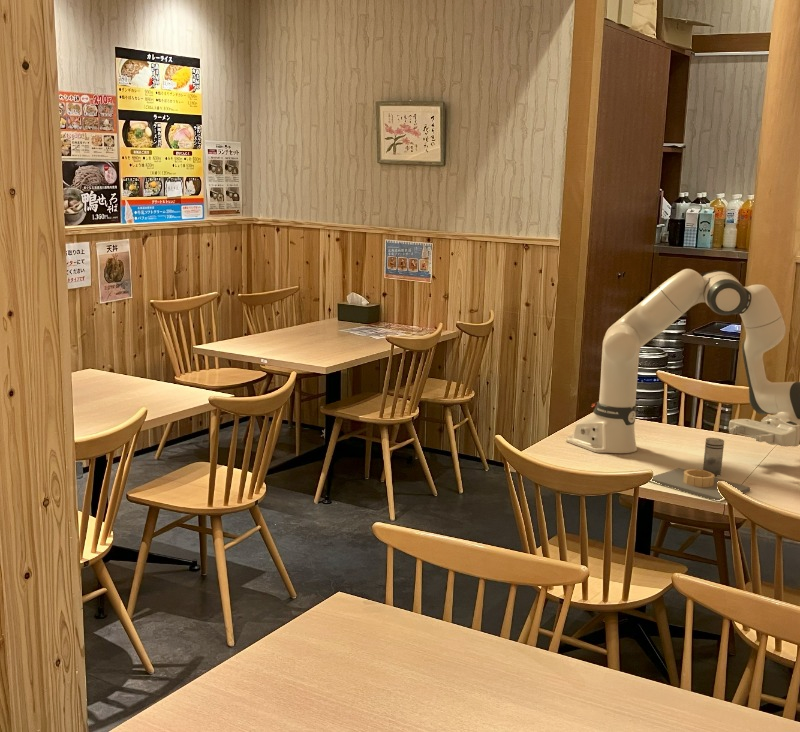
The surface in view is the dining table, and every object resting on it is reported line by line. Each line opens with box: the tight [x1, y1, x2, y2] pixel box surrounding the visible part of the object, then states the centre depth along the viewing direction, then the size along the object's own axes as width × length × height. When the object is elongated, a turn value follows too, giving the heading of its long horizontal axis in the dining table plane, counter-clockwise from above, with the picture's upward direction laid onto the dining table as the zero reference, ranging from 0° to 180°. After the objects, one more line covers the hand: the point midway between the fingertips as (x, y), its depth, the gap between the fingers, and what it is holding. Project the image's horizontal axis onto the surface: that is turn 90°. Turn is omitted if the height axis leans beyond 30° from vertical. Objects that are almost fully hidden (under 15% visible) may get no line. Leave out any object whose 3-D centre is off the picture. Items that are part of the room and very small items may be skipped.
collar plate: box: [652, 467, 751, 500], centre depth 266 cm, size 22×16×4 cm
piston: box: [702, 437, 725, 477], centre depth 277 cm, size 5×5×10 cm
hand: (744, 435), depth 283 cm, fingers open, 8 cm apart
